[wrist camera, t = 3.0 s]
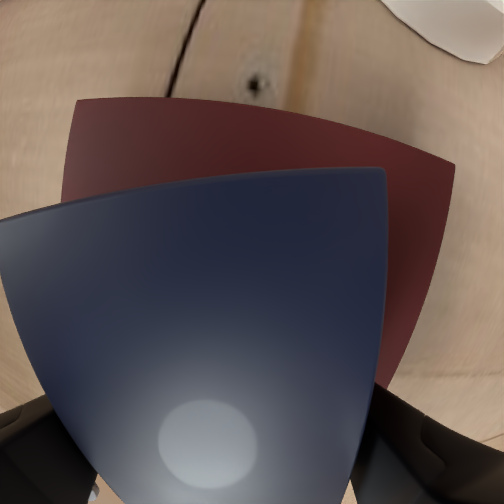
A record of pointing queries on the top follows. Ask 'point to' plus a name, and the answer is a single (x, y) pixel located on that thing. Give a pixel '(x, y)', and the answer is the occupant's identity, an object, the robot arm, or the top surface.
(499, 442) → the top surface
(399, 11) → the inkwell
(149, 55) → the top surface
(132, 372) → the navy book
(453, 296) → the top surface
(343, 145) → the burgundy book
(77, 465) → the robot arm
